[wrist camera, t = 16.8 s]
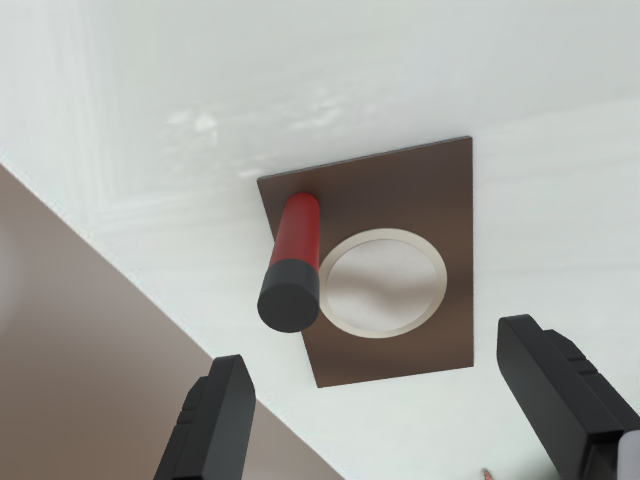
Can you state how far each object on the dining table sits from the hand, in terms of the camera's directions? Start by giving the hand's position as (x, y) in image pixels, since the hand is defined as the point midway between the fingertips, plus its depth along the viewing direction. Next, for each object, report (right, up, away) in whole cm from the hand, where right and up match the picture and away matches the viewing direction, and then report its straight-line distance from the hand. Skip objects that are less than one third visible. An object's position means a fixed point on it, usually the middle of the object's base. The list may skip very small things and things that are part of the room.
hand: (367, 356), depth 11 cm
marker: (-3, +6, +13) cm, 14 cm away
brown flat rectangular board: (+3, 0, +16) cm, 16 cm away
